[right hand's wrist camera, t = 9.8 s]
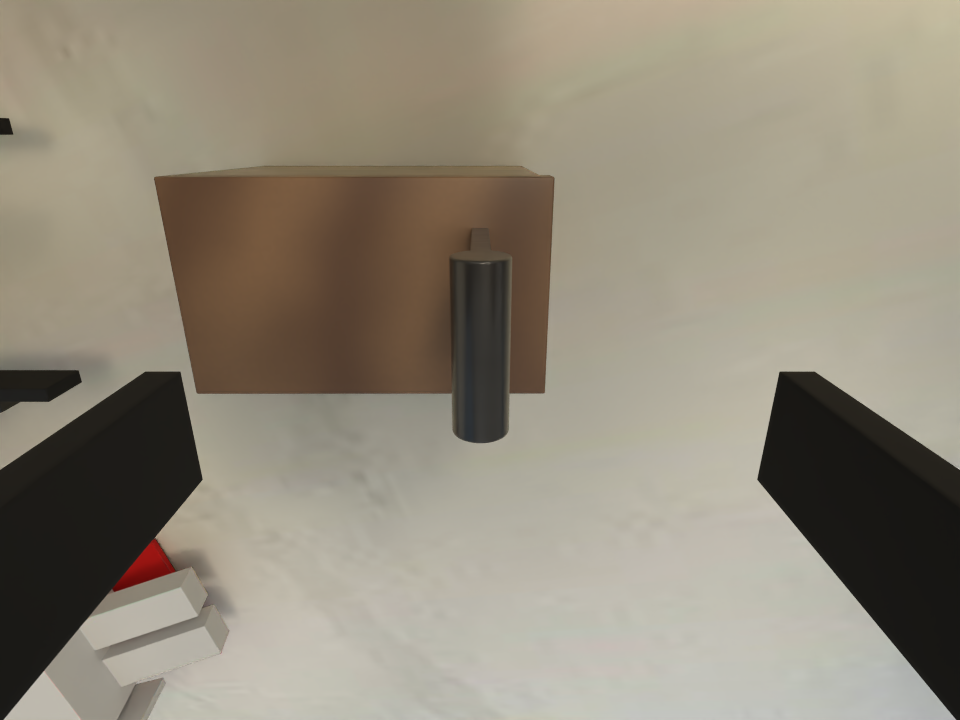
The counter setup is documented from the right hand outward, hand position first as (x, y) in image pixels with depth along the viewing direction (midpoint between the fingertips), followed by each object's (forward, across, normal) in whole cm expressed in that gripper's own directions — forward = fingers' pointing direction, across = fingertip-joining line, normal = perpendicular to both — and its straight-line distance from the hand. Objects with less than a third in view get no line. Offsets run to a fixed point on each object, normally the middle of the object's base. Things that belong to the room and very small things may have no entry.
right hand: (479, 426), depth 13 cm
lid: (+14, -5, 0) cm, 14 cm away
